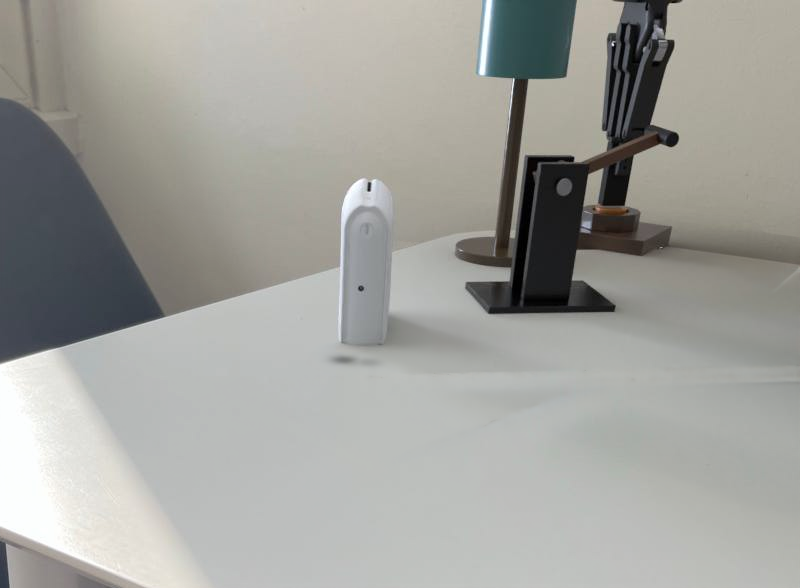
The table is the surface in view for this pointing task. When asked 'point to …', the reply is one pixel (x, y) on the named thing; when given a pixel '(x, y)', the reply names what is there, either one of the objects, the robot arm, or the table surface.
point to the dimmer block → (620, 232)
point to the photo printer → (365, 263)
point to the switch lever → (631, 148)
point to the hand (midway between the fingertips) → (611, 204)
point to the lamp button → (611, 209)
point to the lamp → (517, 93)
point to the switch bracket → (545, 245)
